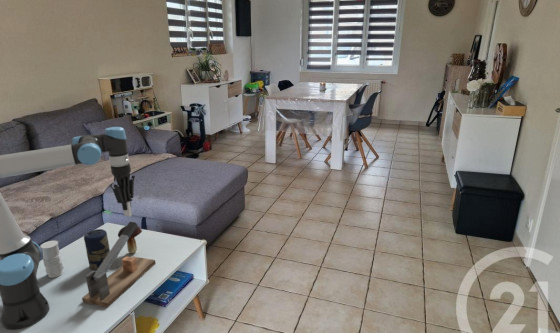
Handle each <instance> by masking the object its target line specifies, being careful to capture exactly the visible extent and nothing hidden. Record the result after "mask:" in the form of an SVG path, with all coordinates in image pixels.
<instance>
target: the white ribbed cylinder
mask: <svg viewBox="0 0 560 333" xmlns="http://www.w3.org/2000/svg"><path fill="white" fill-rule="evenodd" d="M39 247H40V250H41V254H42V261H43V265H44V267H45V271H46V272H45V273H46V274H47V276H48V278H51V279H53V278H57V277H60V276H62V274H64V264H63V258H62V253H61V252H60V249H59V248H60V247H59V241H58V240H50V241H49V240H48V241H46V242H44V243H42V244H40V246H39Z"/></svg>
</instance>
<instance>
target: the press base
mask: <svg viewBox="0 0 560 333" xmlns="http://www.w3.org/2000/svg"><path fill="white" fill-rule="evenodd" d="M121 264H122V265H121V266H120V267H119V268H117V269H115V271H113V272H112V273H111V274H110V275H108V276H107V272H106V273H105V272H103V273H102V274H101V275H99V276H98V277H97V278H96V280H97V281H92V280H91V277H92V276H93V275H94V274H95V272H96V271H97V270H94V269H92V270H91V271H90V272H88V273H87V274H86V275H85V279H86V284H87V285H86V286H87V289H88V290H87V291H88V292H87V293H86V294H85V295H84V296H83V297H81V300H82V303H85V304H89V305H94V306H99V307H105V308H109V307H110V306H111V305H112V304H113V303H115V301H117V300H118V299H119V298H120V297H121V296H122V295H123V294H124V293H126V291H128V290H129V289H130V288H131V287H132V286H133V285H134V284H135V283H136V282H137V281H138V280H139V279H140V278H142V277H143V276H144V275H145V274H146V273H147V272H148V271H150V269H151V268H153V267H154V266H155V265H156V260H155V259H153V258H152V259H151V258H143V257H140V256H125V257H124V258H122V259H121Z"/></svg>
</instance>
